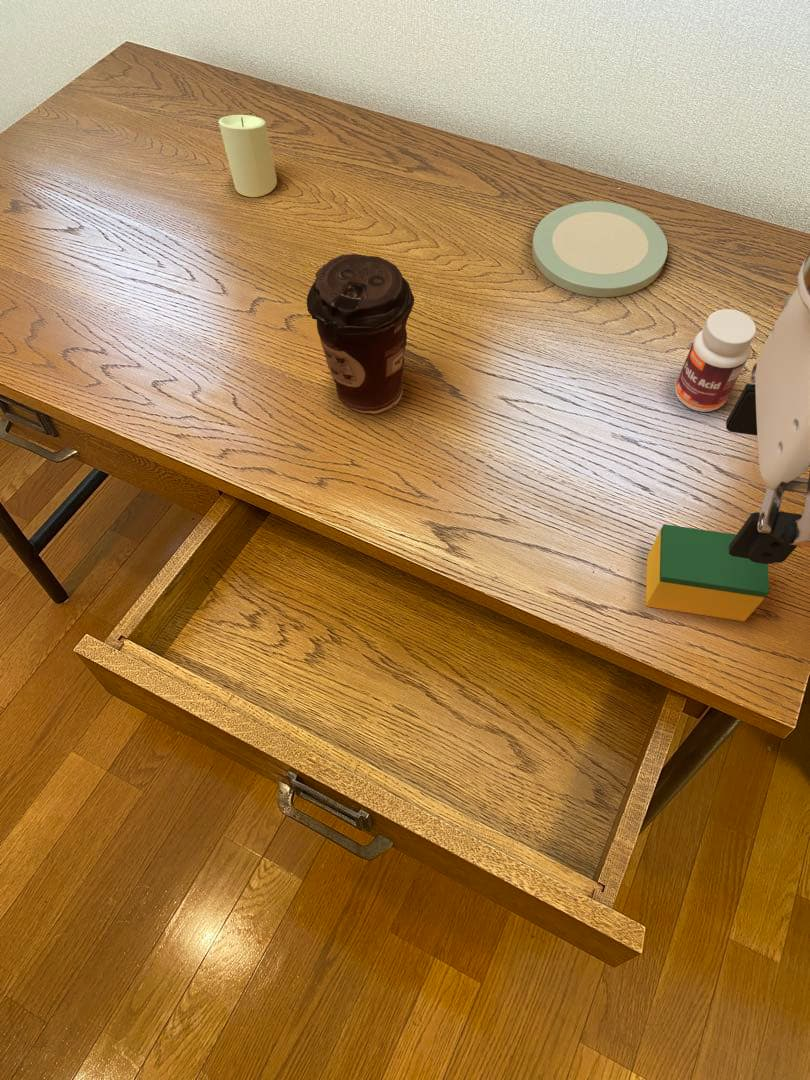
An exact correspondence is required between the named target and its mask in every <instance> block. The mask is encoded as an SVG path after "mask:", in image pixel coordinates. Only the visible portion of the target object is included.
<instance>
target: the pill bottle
mask: <svg viewBox="0 0 810 1080" xmlns="http://www.w3.org/2000/svg"><path fill="white" fill-rule="evenodd" d="M756 333H757V326H756V323H755V322H754V320H753V319H752V317H750V316H749V315H748V314H746V313H744V312H743V311H740V310H736V309H731V308H722V309H718V310H716V311H713V312H712V313H711V314H710V315H709V316H708V317H707V319H706V321H705V324H704V325H703V327H702V329H701V330H700V331H699V332H698V333H697V334H696V335H695V337H694V339H693V340H692V344H691V346H690V349H689V351H688V353H687V356H686V358H685V361H684V363H683V366H682V368H681V370H680V373H679V375H678V378H677V380H676V383H675V384H674V392H675V396H676V398H677V399H678V401H680V403H681V404H683V405H684V406H685V407H687V408H689V409H690V410H693V411H696V412H702V413H706V412H707V413H708V412H712V411H716V410H718V409H720V408H721V407H723V406H724V404H726V402H727V400H728V398H729V396H730V394H732V390H733V388H734V386H735V385H736V382H737V381H738V379H739V378H740V375H741V374H742V371H743V369H744V367H745V365H746V363H747V362H748V360H749V358H750V355H751V349H752V348H751V344H752V342H753V340H754V338H755V336H756Z"/></svg>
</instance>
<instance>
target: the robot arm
mask: <svg viewBox="0 0 810 1080" xmlns="http://www.w3.org/2000/svg"><path fill="white" fill-rule="evenodd" d="M796 280H797V281H796V283H797V287H796V288H795V290H794V292H792V293H789V294H787V296H786V298H785V302H784V304H783V307H782V310H781V313H780V314H779V316H778V318H777V319H776V321H775V323H774V324H773V327H772V328H771V330H770V332H769V333H768V334H767V337H766V340H765V342H764V344H763V346H762V349H761V350H760V351H761V352H760V353H759V356H758V359H757V361H756V363H754V365H753V367H752V369H751V372H750V383H745V386H744V388H742V391H741V393H740V394H739V397H738V398H737V399H736V401H735V404H734V406H733V408H732V409H731V411H730V413H729V415H728V416H727V419H726V420H725V428H726V431H728V432H730V433H734V434H735V433H736V434H743V435H750V436H756V437H757V451H758V452H757V453H758V465H759V473H760V477H761V479H762V480H763V483H765V484H766V486H767V488H766V489H765V494H764V498H763V501H762V504H761V508H760V511H759V512H758V511H757V512H756V511H755V512H751V514H750V515H749V516H748V518H747V519H746V521H745V522H744V523H743V525H742V526H741V527H740V529H739V530H738V532H737V533H736V534H737V535H736V536H735V538H734V539H733V540H732V542H731V543H730V545H729V554H730V555H731V556H735V557H741V558H748V559H750V560H751V561H753V562H756V563H762V564H768V565H771V564H781V563H783V562H785V561H786V560H787V559H788V557H790V555H791V554H792V553H793V552H794V551H795V549H796V548H797V547H803V548H810V472H809V474H808V478H804V477H801V476H803V475H805V473H806V472H807V471H808V469H810V251H809V252H808V254H807V256H806V257H805V259H804V260H803V262H802V265H801V266H800V269H799V271H798V274H797V279H796ZM751 383H752V384H751ZM785 492H792V493H798V494H805V501H804V508H803V512H802V514H800V513H793V512H786V511H780V509H781V505H782V502H783V498H784V495H785Z"/></svg>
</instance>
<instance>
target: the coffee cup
mask: <svg viewBox="0 0 810 1080" xmlns="http://www.w3.org/2000/svg"><path fill="white" fill-rule="evenodd" d="M314 277H315V279H314V282H313V283H312V285H311V286H310V289H309V291H308V293H307V297H306V308H307V309H306V310H307V312H308V314H309V315H310V317H311V318H312V320H316V331H317V334H318V336H319V339H320V344H321V347H322V350H323V354H324V358H325V360H326V364H327V367H328V370H329V373H330V375H331V377H332V379H333V382H334V383H335V391H336V394H337V397H338V399H339V401H340V402H341V403H342V404H343V405H344V406H346V407H348V408H349V409H351V410H353V411H355V412H359V413H362V414H375V415H378V414H381V413H383V412H384V411H387V410H390V409H392V408H393V407H394V406H395V405H398V403H399V401H400V400H401V399H402V397H403V379H402V377H403V373H404V365H405V357H404V356H405V355H404V352H405V350H406V348H407V340H408V332H407V322H408V319H409V316H410V314H411V313H412V311H413V308H414V305H415V297H414V296H415V295H414V294H413V292H412V289H411V286H410V283H409V282H408V281H407V280H406V278H405V277H404V276H403V274H402V272H401V270H400V269H399V268H398V267H397V265H395V264H394V263H392V262H390V261H389V260H387V259H384V258H382V257H379V256H377V255H376V256H374V255H364V254H358V253H357V254H356V253H350V254H349V253H347V254H341V255H339V256H337V257H333V258H332V259H330V260H329V261H328V262H327V263H325V264H323V265H322V266H321V267H320V268H319V269H318V270H317V271H316V273H315V276H314Z"/></svg>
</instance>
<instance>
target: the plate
mask: <svg viewBox="0 0 810 1080" xmlns="http://www.w3.org/2000/svg"><path fill="white" fill-rule="evenodd" d="M531 242H532V243H531V255H532V259H533V262H534V264H535V266H536V268H537V269H538V270H539V272H540V273H541V274H542V275H543V276H544V277H545V278H546V279H547V280H549V281H550V282H551V283H553V284H554V285H556V286H557V287H559V288H562V289H564V290H566V291H567V292H568V291H569V292H571V293H574V294H577V295H580V296H581V295H582V296H586V297H594V298H615V297H622V296H626V295H627V296H628V295H631V294H633V293H636V292H638V291H641V290H643V289H645V288H646V287H648V286H649V285H651V284H652V283H653V282H654V281H656V279H657V278H658V277H659V276H660V275H661V274H662V271H663V269H664V267H665V263H666V260H667V257H668V252H669V246H668V241H667V237H666V235H665V233H664V231H663V230H662V228H661V227H660V226H659V225H658V224H657V222H656V221H654V220H653V219H652V218H651V217H649V216H648V215H646V214H645V213H644V212H641V211H639V210H638V209H636V208H633V207H631V206H628V205H624V204H622V203H617V202H612V201H606V200H605V201H604V200H585V201H578V202H573V203H569V204H565V205H563V206H561V207H558V208H556V209H554V210H552V211H550V212H549V213H548V214H547V215H545V216H544V217H543V218H542V219H541V220H540V222H539V223H538V224H537V226H536V227H535V230H534V232H533V235H532V241H531Z"/></svg>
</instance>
